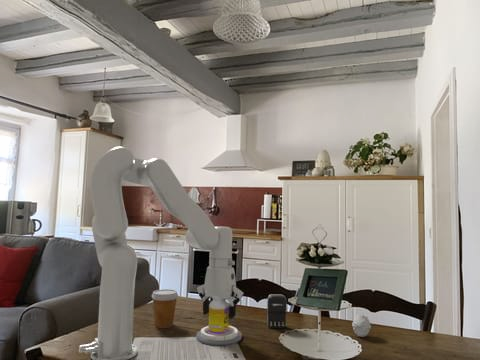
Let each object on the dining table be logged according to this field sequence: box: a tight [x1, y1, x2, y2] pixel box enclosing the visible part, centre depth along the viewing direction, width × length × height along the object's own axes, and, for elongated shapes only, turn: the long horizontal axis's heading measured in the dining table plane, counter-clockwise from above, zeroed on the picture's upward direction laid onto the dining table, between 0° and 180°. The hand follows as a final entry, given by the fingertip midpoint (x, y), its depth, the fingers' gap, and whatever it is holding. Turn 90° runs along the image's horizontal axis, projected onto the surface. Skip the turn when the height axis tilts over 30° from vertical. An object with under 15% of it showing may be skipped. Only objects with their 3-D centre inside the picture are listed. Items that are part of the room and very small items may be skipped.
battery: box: [266, 294, 288, 329], centre depth 129 cm, size 7×4×11 cm, turn 89°
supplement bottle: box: [208, 296, 230, 336], centre depth 118 cm, size 7×7×13 cm
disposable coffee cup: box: [151, 288, 179, 329], centre depth 129 cm, size 10×10×12 cm
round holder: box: [196, 325, 243, 347], centre depth 117 cm, size 15×15×2 cm
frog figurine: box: [351, 313, 372, 338], centre depth 121 cm, size 6×7×7 cm
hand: (218, 315), depth 118 cm, fingers open, 9 cm apart
